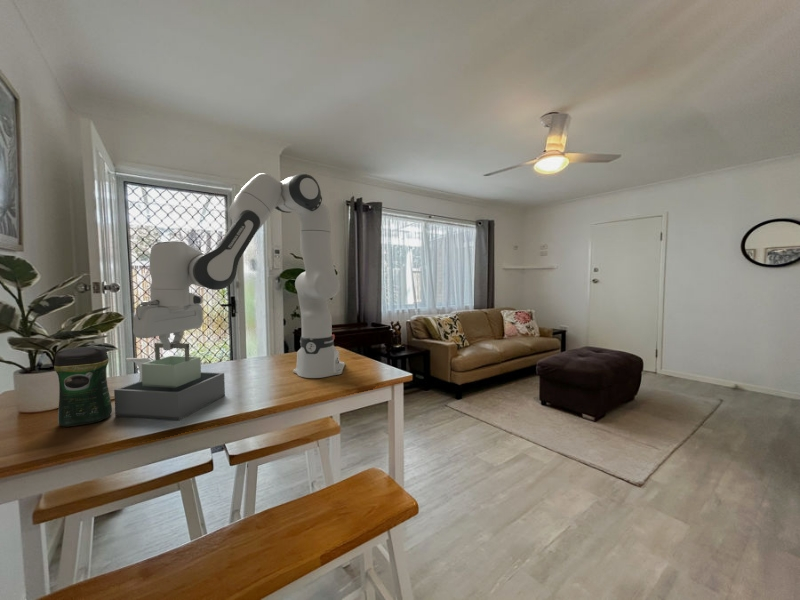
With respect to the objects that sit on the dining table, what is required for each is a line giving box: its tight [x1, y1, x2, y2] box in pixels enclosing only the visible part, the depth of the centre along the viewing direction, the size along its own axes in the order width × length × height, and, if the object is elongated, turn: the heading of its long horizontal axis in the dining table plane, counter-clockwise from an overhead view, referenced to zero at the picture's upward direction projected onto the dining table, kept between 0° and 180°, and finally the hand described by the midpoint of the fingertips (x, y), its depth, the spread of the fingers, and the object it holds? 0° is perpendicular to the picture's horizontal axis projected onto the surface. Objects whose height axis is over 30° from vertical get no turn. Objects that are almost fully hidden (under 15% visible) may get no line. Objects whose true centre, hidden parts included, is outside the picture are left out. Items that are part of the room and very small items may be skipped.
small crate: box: [142, 341, 202, 388], centre depth 93 cm, size 10×10×11 cm
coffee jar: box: [53, 346, 113, 427], centre depth 83 cm, size 10×8×19 cm
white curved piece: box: [125, 357, 152, 382], centre depth 101 cm, size 5×6×12 cm
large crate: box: [113, 371, 226, 421], centre depth 93 cm, size 18×18×7 cm
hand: (172, 348), depth 93 cm, fingers closed on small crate
